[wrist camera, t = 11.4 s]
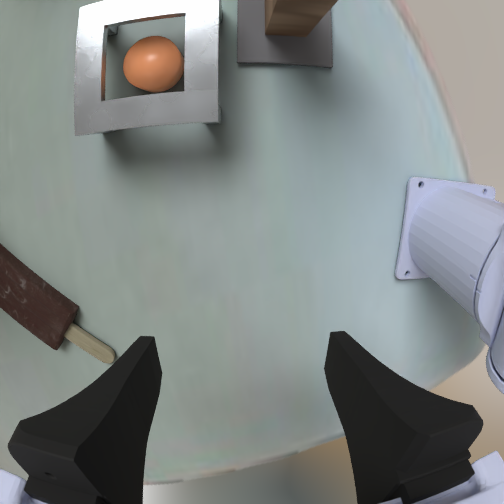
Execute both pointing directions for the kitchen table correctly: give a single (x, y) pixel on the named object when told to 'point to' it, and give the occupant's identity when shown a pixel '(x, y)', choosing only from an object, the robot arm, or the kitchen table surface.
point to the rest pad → (280, 40)
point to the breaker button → (153, 64)
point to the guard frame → (153, 105)
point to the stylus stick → (294, 16)
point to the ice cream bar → (43, 308)
